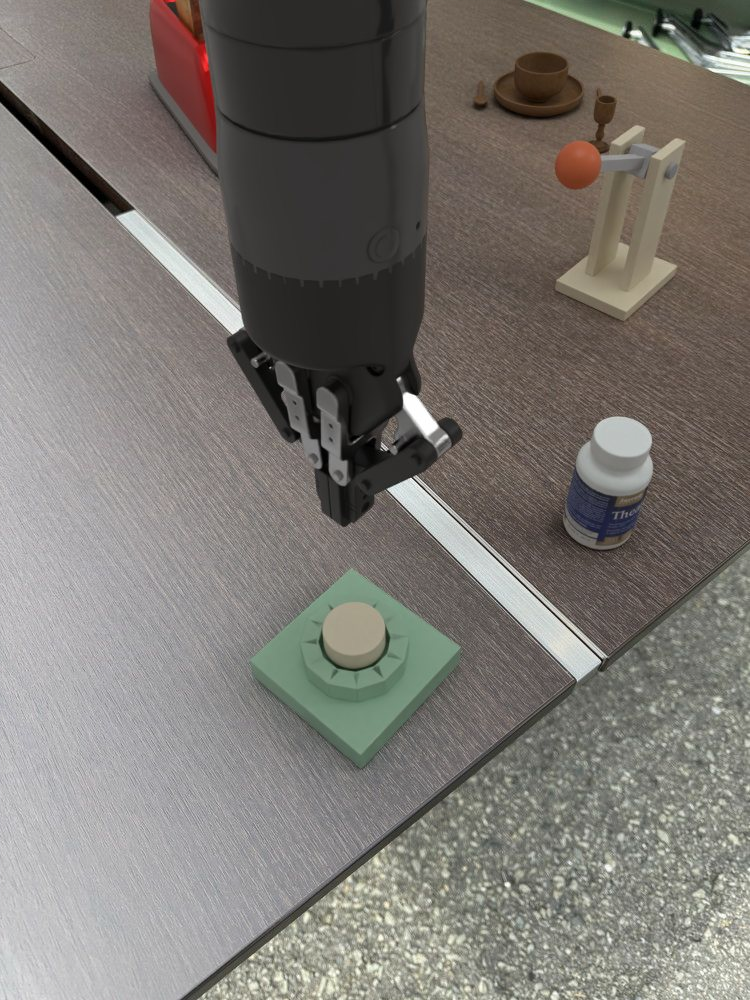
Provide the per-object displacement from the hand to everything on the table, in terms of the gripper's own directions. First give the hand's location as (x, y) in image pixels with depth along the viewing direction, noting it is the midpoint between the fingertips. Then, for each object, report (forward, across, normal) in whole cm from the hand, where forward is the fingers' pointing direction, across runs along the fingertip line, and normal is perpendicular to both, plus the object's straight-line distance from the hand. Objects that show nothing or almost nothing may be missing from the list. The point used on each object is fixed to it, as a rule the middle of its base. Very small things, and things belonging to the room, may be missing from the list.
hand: (345, 510), depth 45 cm
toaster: (+17, +68, -49) cm, 86 cm away
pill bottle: (+17, -6, -22) cm, 28 cm away
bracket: (+17, +10, -50) cm, 54 cm away
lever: (+3, +10, -43) cm, 44 cm away
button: (+13, 0, 0) cm, 13 cm away
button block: (+17, 0, 0) cm, 17 cm away
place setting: (+17, +37, -76) cm, 86 cm away
